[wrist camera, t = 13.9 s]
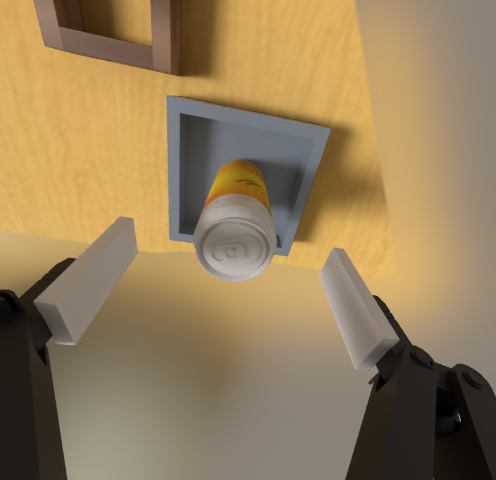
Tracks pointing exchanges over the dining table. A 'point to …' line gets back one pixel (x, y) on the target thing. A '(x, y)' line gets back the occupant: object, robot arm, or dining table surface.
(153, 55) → the collar holder
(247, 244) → the beer can
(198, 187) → the tray
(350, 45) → the dining table surface
